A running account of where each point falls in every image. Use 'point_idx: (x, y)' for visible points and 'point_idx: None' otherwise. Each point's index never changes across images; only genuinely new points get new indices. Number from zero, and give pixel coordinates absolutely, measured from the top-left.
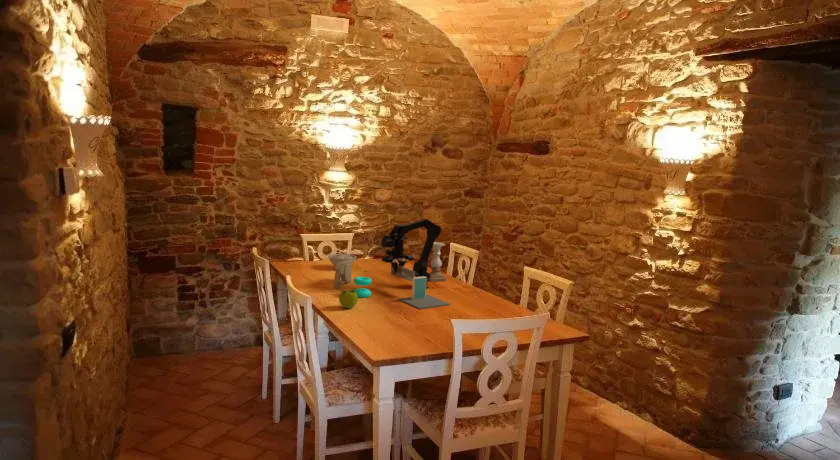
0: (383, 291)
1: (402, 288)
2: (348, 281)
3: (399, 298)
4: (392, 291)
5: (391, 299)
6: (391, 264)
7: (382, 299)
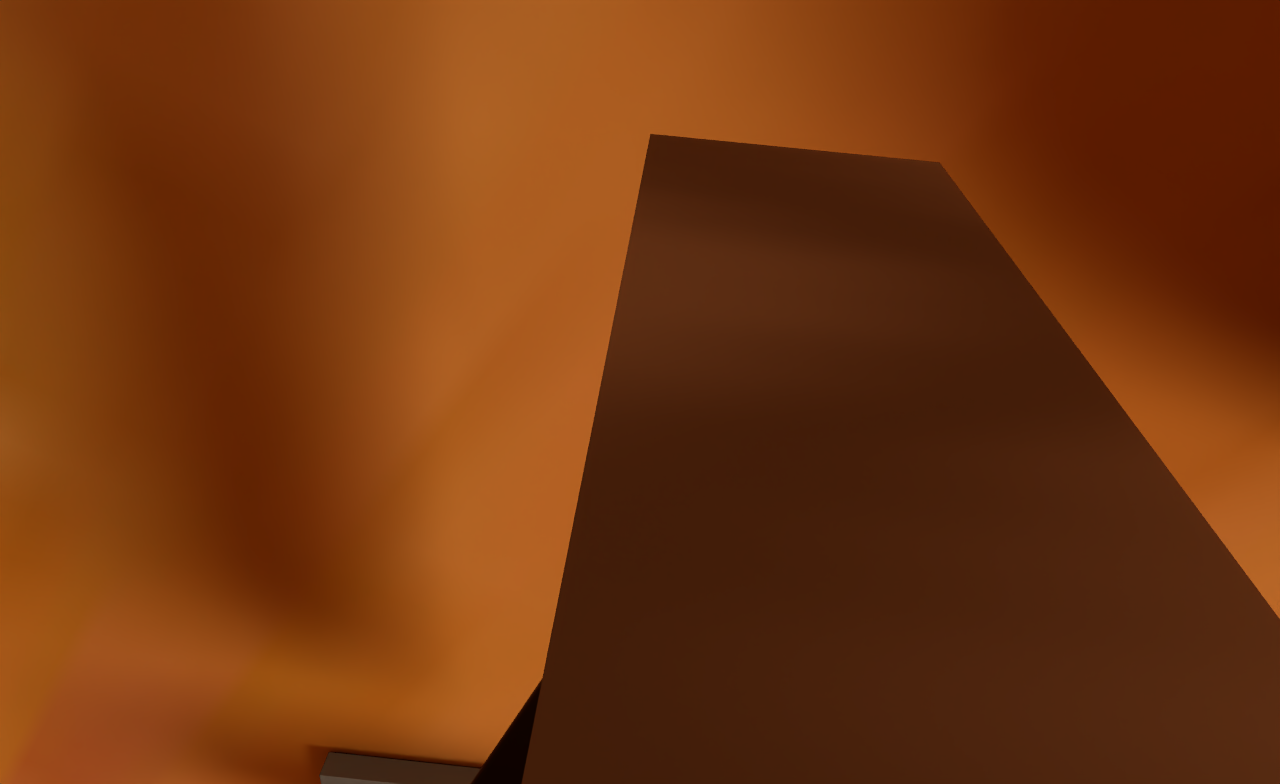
0: (310, 164)
1: (1057, 157)
2: None
3: (331, 777)
4: (552, 285)
5: (219, 687)
6: (538, 777)
7: (52, 625)
